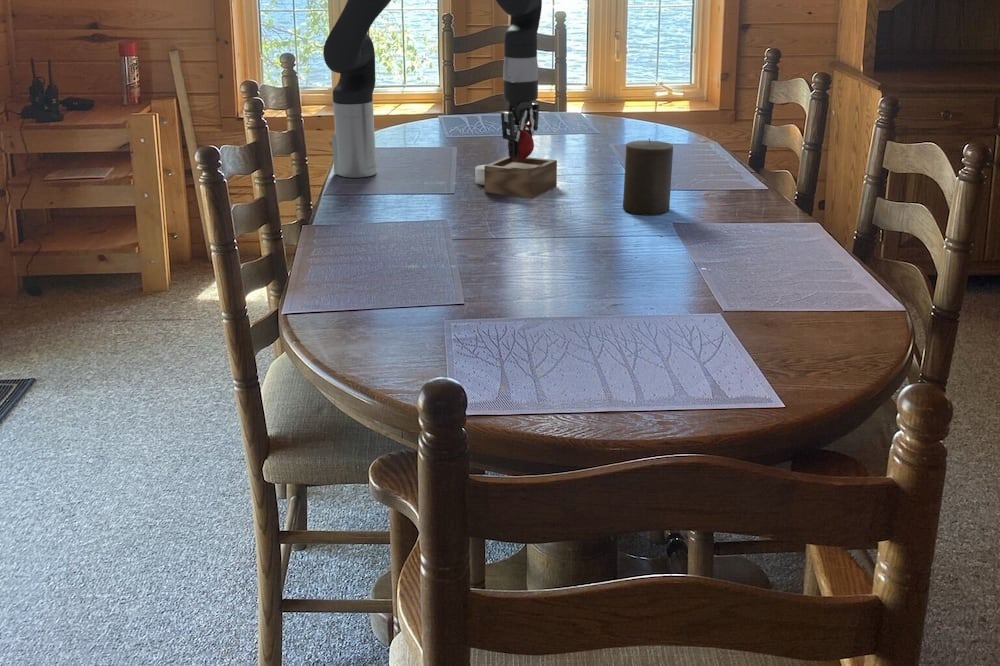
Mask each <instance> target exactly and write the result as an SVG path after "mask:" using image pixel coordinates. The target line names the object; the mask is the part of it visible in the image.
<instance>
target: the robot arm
mask: <svg viewBox="0 0 1000 666" xmlns="http://www.w3.org/2000/svg"><path fill="white" fill-rule="evenodd" d="M391 1H392V0H347V1H346V3H345V6H344V7H343V9H342V11H341V13H340V15H339V16H338V19H337V21H336V23H335V24H334V26H333V27H332V29H331V31H330V32H329V34H328V36H327V38H326V40H325V42H324V44H323V53H322V54H323V59H324V62H325V64H326V67H327V68H328V70H329V69H330V70H331V71H332V72H334V73H337V74H339V75H340V76H339V79H338V82H337V83H336V85H335V87H334V88H333V89H332V102H333V103H332V105H333V119H334V121H333V123H334V133H332V134H331V145H332V159H333V160H332V161H333V171H334V172H333V173H334V175H338V176H340V177H343V178H354V179H355V178H365V177H371V176H374V175H376V174H377V155H376V153H377V152H376V135H375V133H376V132H375V120H374V119H375V118H374V117H375V115H374V101H373V97H374V95H373V94H374V91H375V87H376V52H375V46H374V43H373V41H372V39H371V36H370V35H369V34H368V32H369V30H370V29H371V26H372V24H373V23H374V21H376V19H377V18H378V17H379V15H380V14H381V13H382V12H383V11H384V10H385V9H386V7H388V5H389V4H390V3H391ZM495 2H496V3H497V4H498V6H499V7H500V8H501V9H502V11H503V12H504V13H506V14H507V15H508V16H510V23H509V26H508V28H507V29H506V31H505V33H504V41H503V42H504V52H503V53H504V58H503V59H504V60H503V65H502V66H503V68H502V69H503V71H502V75H503V77H502V79H503V82H502V87H503V89H502V91H503V94H502V96H503V100H504V101H507V102H508V109H507V111H501V114H500V119H501V121H500V122H501V132H502V139H503V140H506V141H507V142H508V141H509V150H508V156H509V157H510V158H518V157H519V141H518V140H519V135H520V132H521V131H522V130H523V126H524V130H525V131H527V132H528V133H529V134H530V135H531V137H532V138H533V136H534V134H535V132H537V131H538V129H539V117H540V116H539V115H540V113H539V111H540V104H539V103H533V102H534V101H537V100H538V98H539V64H538V37H537V36H538V30H539V26H540V22H541V21H540V20H541V15H542V7H543V1H542V0H495ZM515 131H516V133H515Z"/></svg>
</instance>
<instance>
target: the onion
mask: <svg viewBox="0 0 1000 666" xmlns="http://www.w3.org/2000/svg"><path fill="white" fill-rule="evenodd" d="M515 133H516V131H515ZM518 141H519V157H518V158H515V159H517V160H518V161H520V162H521V161H524V160H525V159H526V158H527V157H530V155H531V154H532V153H533V151H534V147H535V142H534V139H533V136H532V137H531V135H530V134H529V133H528V132H527V131H525V130H524V126H523V130H522V131H521V132H520V135H519V140H518ZM507 150H508V151H509V141H508V140H507Z"/></svg>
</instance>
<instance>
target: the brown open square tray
mask: <svg viewBox="0 0 1000 666" xmlns="http://www.w3.org/2000/svg"><path fill="white" fill-rule="evenodd" d="M484 165H485V166H484V172H485V185H484V193H488V194H496V195H503V196H511V197H519V198H527V199H535V198H537V197H539V196H541V195H543V194H545V193H547V192H548V191H550V190H553V189H554V188H556V187H557V181H558V179H557V176H558V175H557V174H558V171H557V170H558V169H557V168H558V161H557V159H549V158H539V157H530V156H528V157H527V158H526V159H525V160H524V161H521V162H520V161H518V160H517V159H515V158H510V157H509V155H507V156H504V157H502V158H499V159H498V160H495V161H493V162H490V163H488V164H484Z"/></svg>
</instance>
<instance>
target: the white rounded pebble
mask: <svg viewBox="0 0 1000 666" xmlns="http://www.w3.org/2000/svg"><path fill="white" fill-rule="evenodd" d="M485 165H486V164H480V165H477V166H475V168H474V171H475V172H474V173H475V183H476V184H478V185H482V186H485V172H484V166H485Z"/></svg>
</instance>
